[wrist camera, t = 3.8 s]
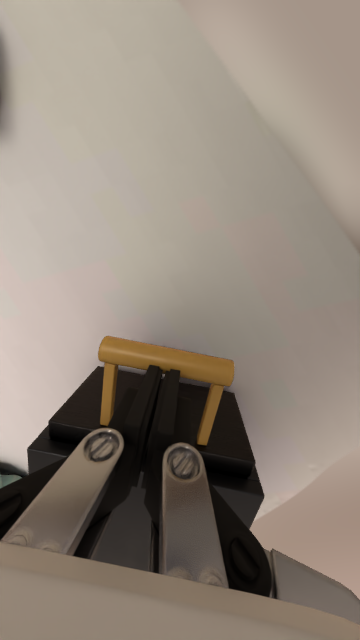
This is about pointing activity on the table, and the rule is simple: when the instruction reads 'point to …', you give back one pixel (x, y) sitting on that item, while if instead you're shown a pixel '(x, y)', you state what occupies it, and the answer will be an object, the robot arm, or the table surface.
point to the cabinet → (132, 516)
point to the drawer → (206, 403)
